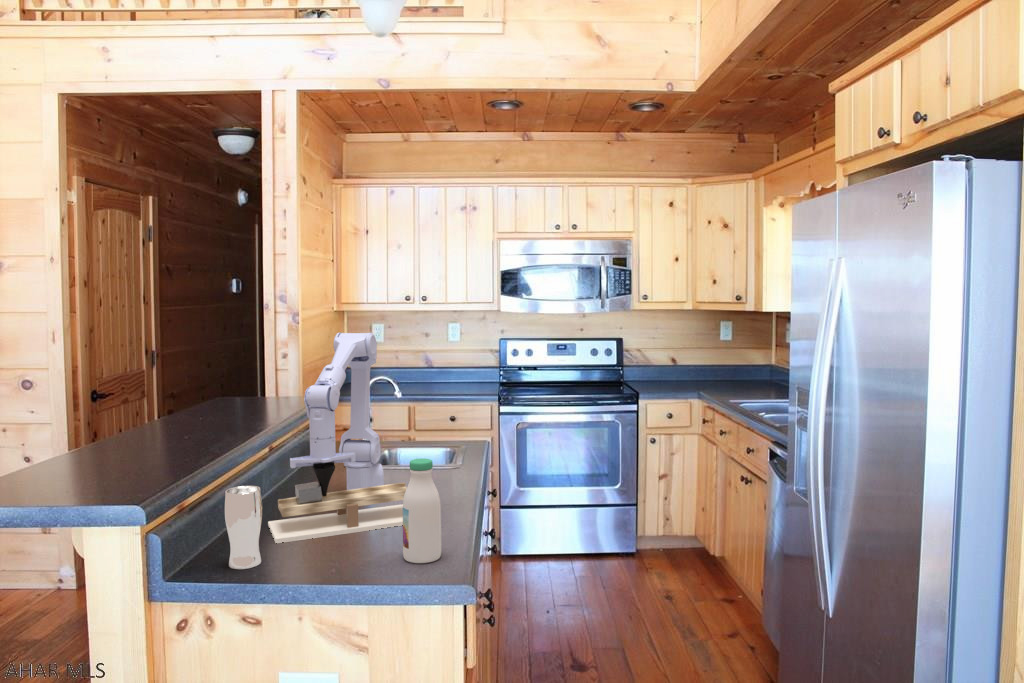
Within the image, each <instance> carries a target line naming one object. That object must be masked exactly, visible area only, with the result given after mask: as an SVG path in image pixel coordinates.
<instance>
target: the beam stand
mask: <svg viewBox="0 0 1024 683" xmlns="http://www.w3.org/2000/svg"><path fill="white" fill-rule="evenodd" d="M402 525H403V503H402V504H395V505H387V506H385V505H384V506H379V507H373V508H372V507H370V508H364V509H359V506H358V504H349V505H346V508H344V509H337V510H336V512H332V513H324V514H317V515H309V516H301V517H293V518H292V517H291V518H285V519H278V520H269V521H267V526H268V528H270V529H269V532H270V533H272V534H271V536H272V538H274V539H273V541H274V543H275V544H276V543H277V544H282V542H284V543H289V542H290V543H291V542H296V541H297V542H298V541H304V540H311V539H312V538H313V539H318V538H319V539H320V538H326V537H332V536H339V535H340V536H341V535H347V534H353V533H354V534H355V533H362V532H369V530H370V531H376V530H375V529H377V530H382V529H381V528H384V529H388V528H387V527H391V528H395V527H394V526H398V527H403V526H402Z"/></svg>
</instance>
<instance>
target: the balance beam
mask: <svg viewBox="0 0 1024 683" xmlns="http://www.w3.org/2000/svg"><path fill="white" fill-rule="evenodd" d="M407 487H408V486H406V482H396V483H390V484H384V485H381V486H374V487H366V488H359V489H352V490H347V489H344V490H338V491H331V492H327V495H326V496H325V497H323V496H322V502H316V503H309V504H302V505H298V504H297V502H296V496H294V497H287V498H279V499H277V508H278V510H279V512H280V514H281V517H282V518H288V517H296V516H301V515H310V514H316V513H323V512H328V511H329V512H330V511H335V510H336V511H337V509H344V508H346V505H349V504H358V507H362V506H370V505H375V504H384V503H390V502H398V501H403V499H404V494H405V492H406V489H407Z"/></svg>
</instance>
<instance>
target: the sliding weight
mask: <svg viewBox="0 0 1024 683" xmlns="http://www.w3.org/2000/svg"><path fill="white" fill-rule="evenodd" d="M294 487H295V488H294V489H295V490H294V491H295V492H294V493H295V497H296V502H297V504H298V505H302V504H309V503H316V502H322V492H321V486H320V484H319V481H312V482H306V483H300V484H294Z"/></svg>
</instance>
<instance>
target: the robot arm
mask: <svg viewBox="0 0 1024 683" xmlns="http://www.w3.org/2000/svg"><path fill="white" fill-rule="evenodd" d="M377 348H378V342H377V338H376V335H375V334H374V333H373V332H357V333H356V332H337V333H336V334H335V335H334V338H333V352H334V355H333V357H332V359H331V362H330V364H329V363H328V364H327V365H325V366H324V367H323V368H322V370H321V372H320V374H319V376H318V378H317V379H316V381H315V383H314V384H313V385H310V386H308V387H306V390H305V391H304V399H303V402H304V407H305V409H306V417H307V418H308V421H309V423H308V424H309V425H308V426H309V455H305V456H298V457H290V458H289V466H290V468H291V469H296V468H301V467H302V468H303V467H311V468H312V470H313V471H314V474H315V475H316V478H317V480H318V481H317V482H318V483H319V485H320V486H321V493H322V496H323V497H325V496H326V495H327V493H328V488H329V484H330V481H331V479H332V476H333V474H334V472H335V470H336V465H335V464H340V463H343V466H344V467H345V469H346V472H345V473H346V490H352V489H359V488H366V487H374V486H381V485H385V477H384V476H385V475H384V468H383V465H382V464H381V463H379V461H380V459H381V450H382V448H381V442H380V441H381V440H380V436H379V433H377V432H376V431H375V430H373V428H371V427H370V397H371V396H370V390H371V389H370V388H371V366H373V365H374V364H375V365H376V364H377V356H378V355H377V350H378V349H377ZM348 366H349V367H350V370H351V372H350V374H351V375H350V376H351V380H350V381H351V384H350V427H349V429H348V430H346V431H345V432H343V434H342V435H341V436H340V444H339V447H338V448H339V449H338V452H336V451H337V450H336V449H337V448H336V445H337V443H336V410H337V408H338V406H339V401H340V395H341V391H340V390H341V388H342V386H343V385H344V383H345V380H346V378H347V373H346V369H347V368H348Z"/></svg>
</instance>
